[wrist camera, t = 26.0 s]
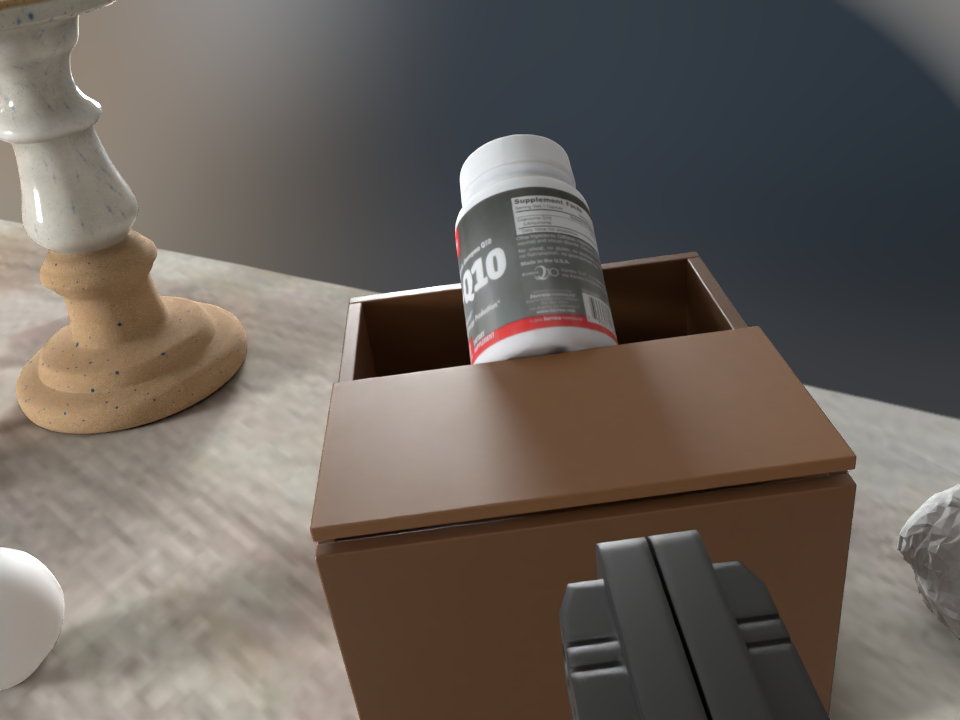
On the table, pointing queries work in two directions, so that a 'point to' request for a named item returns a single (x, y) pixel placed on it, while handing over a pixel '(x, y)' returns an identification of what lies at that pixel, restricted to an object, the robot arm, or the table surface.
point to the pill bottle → (528, 254)
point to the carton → (554, 533)
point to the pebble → (936, 554)
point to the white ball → (26, 615)
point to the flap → (567, 433)
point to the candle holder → (95, 251)
